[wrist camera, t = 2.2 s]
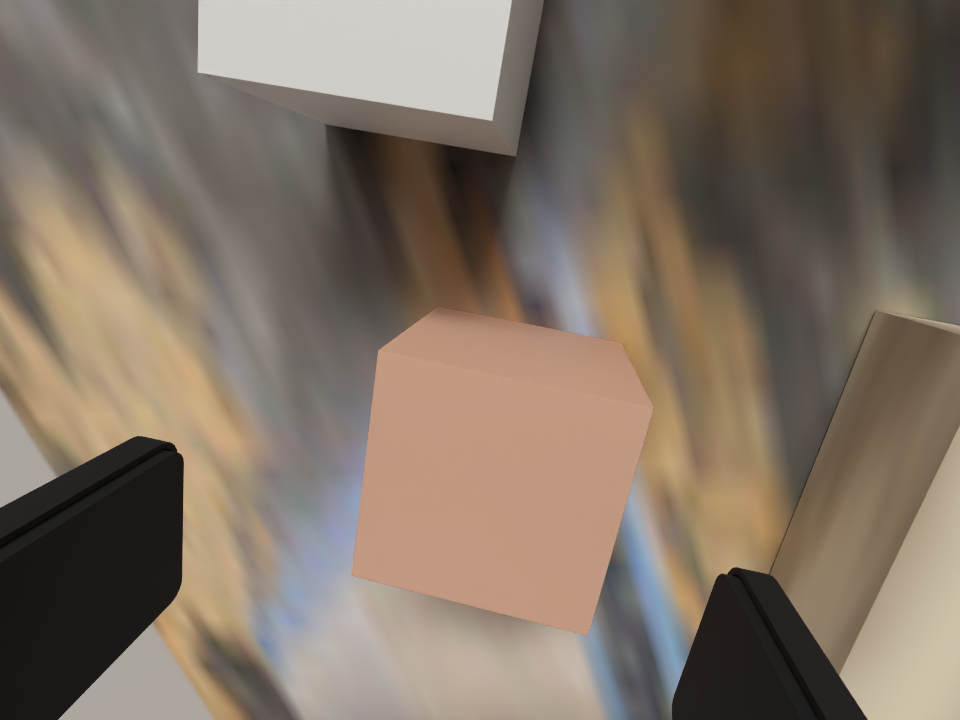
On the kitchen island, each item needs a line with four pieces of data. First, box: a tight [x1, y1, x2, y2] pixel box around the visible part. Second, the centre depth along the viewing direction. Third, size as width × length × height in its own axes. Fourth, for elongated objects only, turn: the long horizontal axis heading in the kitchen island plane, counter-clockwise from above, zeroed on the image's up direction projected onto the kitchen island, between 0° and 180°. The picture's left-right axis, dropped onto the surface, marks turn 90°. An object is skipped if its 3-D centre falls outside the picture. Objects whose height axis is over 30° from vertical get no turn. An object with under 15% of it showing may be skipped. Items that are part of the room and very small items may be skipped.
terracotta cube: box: [352, 306, 654, 636], centre depth 13 cm, size 6×6×6 cm
